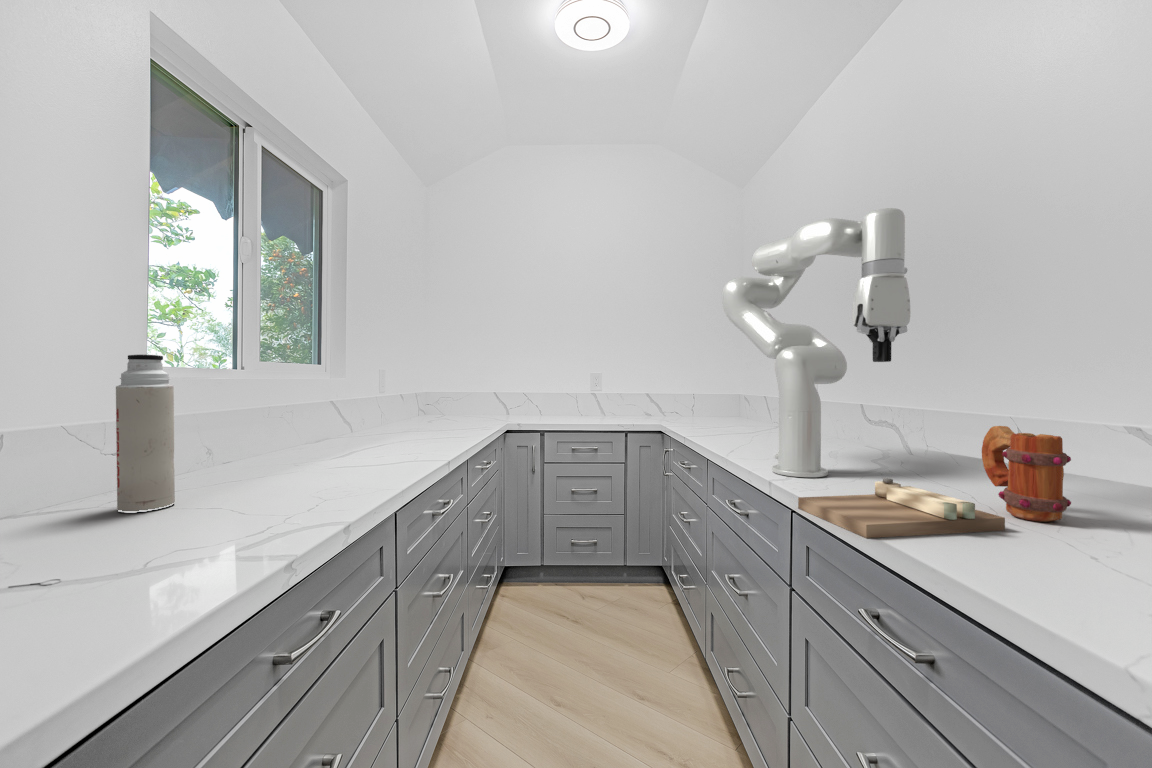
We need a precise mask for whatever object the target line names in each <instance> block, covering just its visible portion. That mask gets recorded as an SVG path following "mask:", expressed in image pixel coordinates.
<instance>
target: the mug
mask: <svg viewBox="0 0 1152 768" xmlns="http://www.w3.org/2000/svg"><path fill="white" fill-rule="evenodd" d="M1063 450H1064V449H1063V438H1062V437H1061V436H1060V435H1054V434H1053V435H1052V434H1043V433H1040V434H1036V435H1035V434H1034V433H1030V432H1017V433H1015V432H1014V431H1013V430H1012V429H1011V428H1010V427H1009V426H1006V425H994V426H993V425H992V427H990V428H989V429H988V431H987V432H986V433H985V435H984V436H983V440H982V447H981V460H982V463H983V464H982V465H983V469H984V471H985V473H986V475H987V477H988V479H989V480H990V482H991V483H992V485H993V486H994V487H1005V488H1004V489H1003V490H1000V491H999V492H998V497H999V498H1000V499H1002V500H1003V501H1004V503H1005V509H1006V512H1008V513H1009V514H1011V516H1013V517H1016V518H1019V519H1021V520H1026V521H1032V522H1038V523H1039V522H1042V523H1049V522H1054V521H1060V520H1061V519H1063V512H1065V511H1067V509H1068V508H1069V507H1070V505H1072V501H1071V500H1070V499H1069V498H1067V497H1066V496H1064V494H1063V493H1064V492H1063V491H1064V475H1065V474H1064V472H1065V471H1064V466H1066V465H1067V464H1068V463H1070V461H1072V458H1071V456H1070V455H1068V454H1066V452H1064V451H1063ZM1005 459H1006V460H1008V464H1007V465H1008V467H1007V465H1006V463H1005Z"/></svg>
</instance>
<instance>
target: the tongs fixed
mask: <svg viewBox="0 0 1152 768" xmlns="http://www.w3.org/2000/svg"><path fill="white" fill-rule="evenodd" d="M882 481H883V483H893V482H894V479H892V478H886V477H884V478H882ZM901 488H902V489H906V490H909V491H913V492H916V493H920V494H923V495H927V496H930V497H934V498H937V499H940V500H944V501H947V502H951V503H954V504H957V516H959V517H962V518H967V519H975V510H976V503H974V502H971V501H967V500H963V499H958V498H956V497H953V496H947V495H944V494H940V493H937V492H933V491H929V490H926V489H922V488H918V487H914V486H910V485H909V486H908V485H906V486H901Z"/></svg>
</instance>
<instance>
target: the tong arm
mask: <svg viewBox="0 0 1152 768" xmlns="http://www.w3.org/2000/svg"><path fill="white" fill-rule="evenodd" d="M874 494H875V495H877V496H880V497H885V498H887V500H890V501H893V502H896V503H899V504H902V505H905V506H909V507H912V508H915V509H918V510H921V511H924V512H927V513H930V514H933V515H936V516H939V517H942V518H945V519H950V520H956V519H957V504H954V503H951V502H947V501H944V500H940V499H937V498H934V497H930V496H927V495H923V494H920V493H916V492H913V491H909V490H906V489H902V488H901V484H900V483H898V482H894V481H893V483H883V480H882V481H879V480H878V481H874Z"/></svg>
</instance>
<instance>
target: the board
mask: <svg viewBox="0 0 1152 768" xmlns="http://www.w3.org/2000/svg"><path fill="white" fill-rule="evenodd" d="M797 503H798V507H797V508H798V509H799V510H801V511H802V512H805V513H807V514H810V515H812V516H814V517H817V518H820V519H822V520H823V521H826V522H828V523H831V524H833V525H835V526H838V527H840V528H841V529H842V528H843V529H844V530H846V531H848V532H851V533H853V534H856V535H858V536H860V537H863V538H865V539H875V538H893V537H894V538H895V537H913V536H914V537H915V536H929V535H947V534H948V535H949V534H963V533H965V534H966V533H983V532H985V533H987V532H1002V531H1005V530H1006V518H1005V517H1003V516H1001V515H997V514H993V513H989V512H986V511H982V510H979V509H975V519H967V518H962V517H959V516H957V519H956V520H950V519H945V518H942V517H939V516H936V515H933V514H930V513H927V512H924V511H921V510H918V509H915V508H912V507H909V506H905V505H902V504H899V503H896V502H893V501H890V500H887V498H885V497H880V496H877V495H875V493H874V494H854V495H853V494H850V495H847V494H845V495H826V496H825V495H824V496H823V495H822V496H803V497H800V496H799V497H798V500H797Z"/></svg>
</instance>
